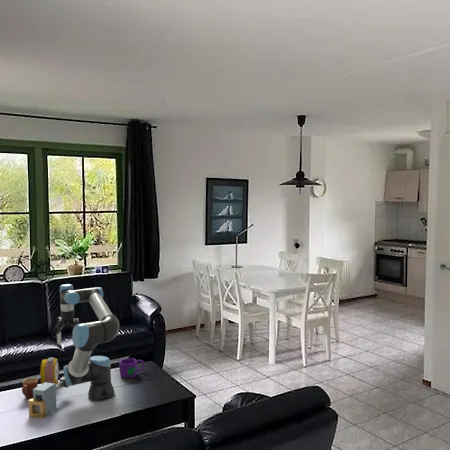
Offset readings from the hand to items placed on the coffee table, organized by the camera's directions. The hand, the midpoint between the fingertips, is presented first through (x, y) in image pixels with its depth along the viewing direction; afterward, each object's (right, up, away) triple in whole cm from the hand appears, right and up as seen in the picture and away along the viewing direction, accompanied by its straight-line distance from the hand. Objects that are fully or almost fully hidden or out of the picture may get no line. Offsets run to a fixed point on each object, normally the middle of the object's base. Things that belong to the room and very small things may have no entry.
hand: (69, 344), depth 288 cm
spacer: (-7, -31, -31) cm, 44 cm away
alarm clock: (-14, -29, +8) cm, 33 cm away
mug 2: (+34, -27, +26) cm, 50 cm away
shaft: (-2, -23, -15) cm, 28 cm away
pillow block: (-5, -31, -24) cm, 39 cm away
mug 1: (-21, -30, -7) cm, 37 cm away
